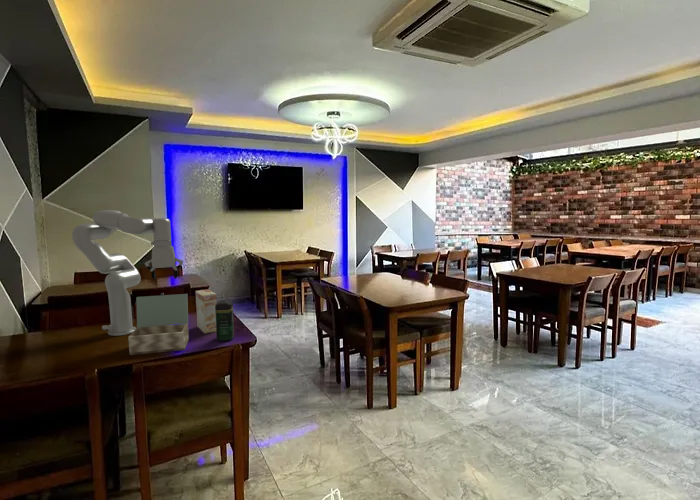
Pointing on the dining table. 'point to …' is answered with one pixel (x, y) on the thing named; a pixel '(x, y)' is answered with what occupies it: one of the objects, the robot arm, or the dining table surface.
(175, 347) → the chest
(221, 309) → the coffee jar
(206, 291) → the coffeecake box
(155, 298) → the lid
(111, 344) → the dining table surface
